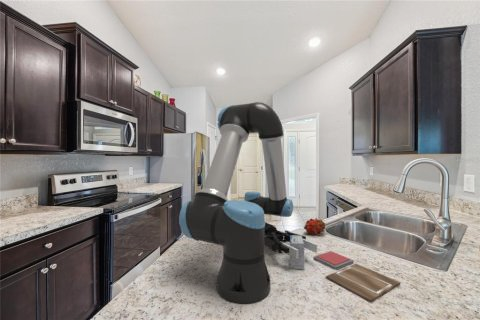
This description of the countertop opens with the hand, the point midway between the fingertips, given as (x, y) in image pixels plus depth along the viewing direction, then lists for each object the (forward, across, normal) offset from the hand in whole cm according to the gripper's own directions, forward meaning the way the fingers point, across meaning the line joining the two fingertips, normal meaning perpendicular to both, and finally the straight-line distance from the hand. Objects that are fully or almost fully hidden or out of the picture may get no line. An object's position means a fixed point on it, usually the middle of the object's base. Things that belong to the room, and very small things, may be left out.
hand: (307, 251), depth 68 cm
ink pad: (0, -13, -6) cm, 14 cm away
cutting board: (+13, -9, -6) cm, 17 cm away
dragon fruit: (-23, -31, -6) cm, 39 cm away
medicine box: (-5, 0, -6) cm, 8 cm away
